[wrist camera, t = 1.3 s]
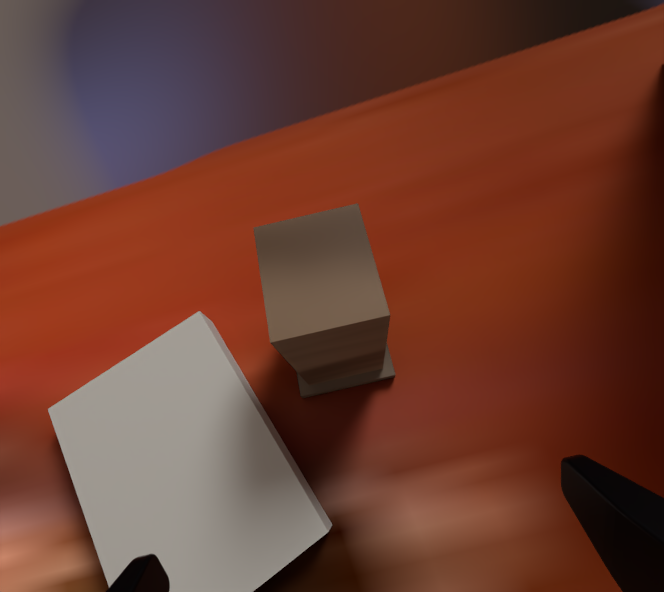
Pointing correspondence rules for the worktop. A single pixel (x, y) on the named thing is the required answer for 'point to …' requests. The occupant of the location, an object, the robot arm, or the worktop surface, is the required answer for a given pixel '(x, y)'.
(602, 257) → the worktop surface
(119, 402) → the display block
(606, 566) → the robot arm
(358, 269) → the brown box on plinth
